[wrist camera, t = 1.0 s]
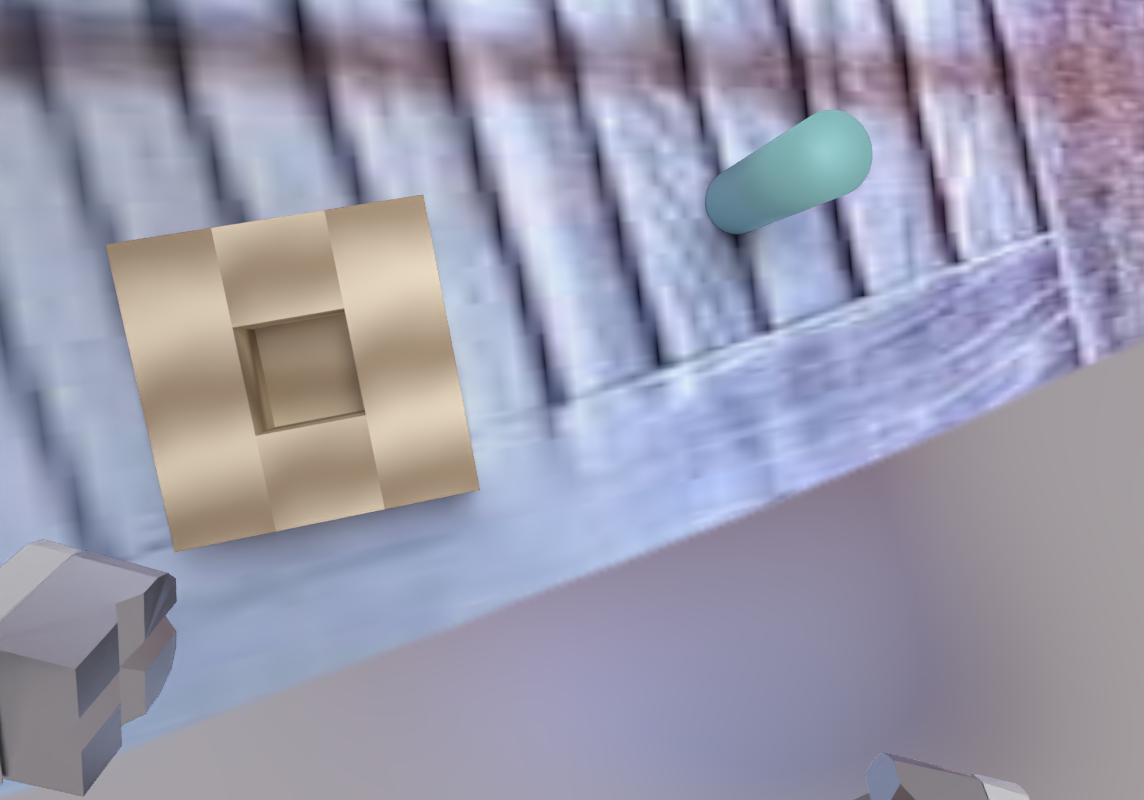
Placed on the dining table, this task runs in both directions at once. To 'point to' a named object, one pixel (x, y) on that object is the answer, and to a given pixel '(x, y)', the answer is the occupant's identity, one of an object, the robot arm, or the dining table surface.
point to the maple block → (294, 369)
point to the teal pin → (792, 173)
